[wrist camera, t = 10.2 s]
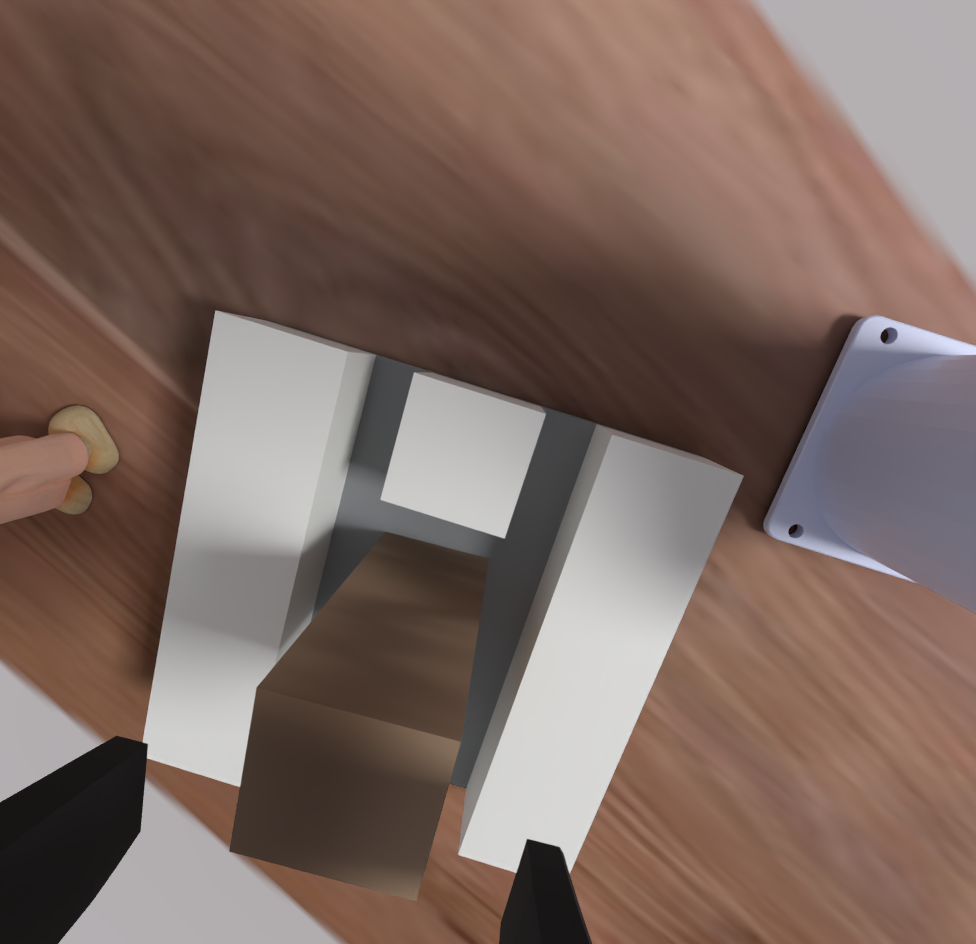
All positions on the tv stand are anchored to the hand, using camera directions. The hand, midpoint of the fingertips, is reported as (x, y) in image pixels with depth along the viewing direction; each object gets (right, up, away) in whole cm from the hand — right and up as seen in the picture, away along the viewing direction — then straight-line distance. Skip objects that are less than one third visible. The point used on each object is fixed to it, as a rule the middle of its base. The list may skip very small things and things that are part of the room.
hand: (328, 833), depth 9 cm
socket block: (+1, +2, +10) cm, 10 cm away
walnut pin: (+1, +2, +9) cm, 10 cm away
